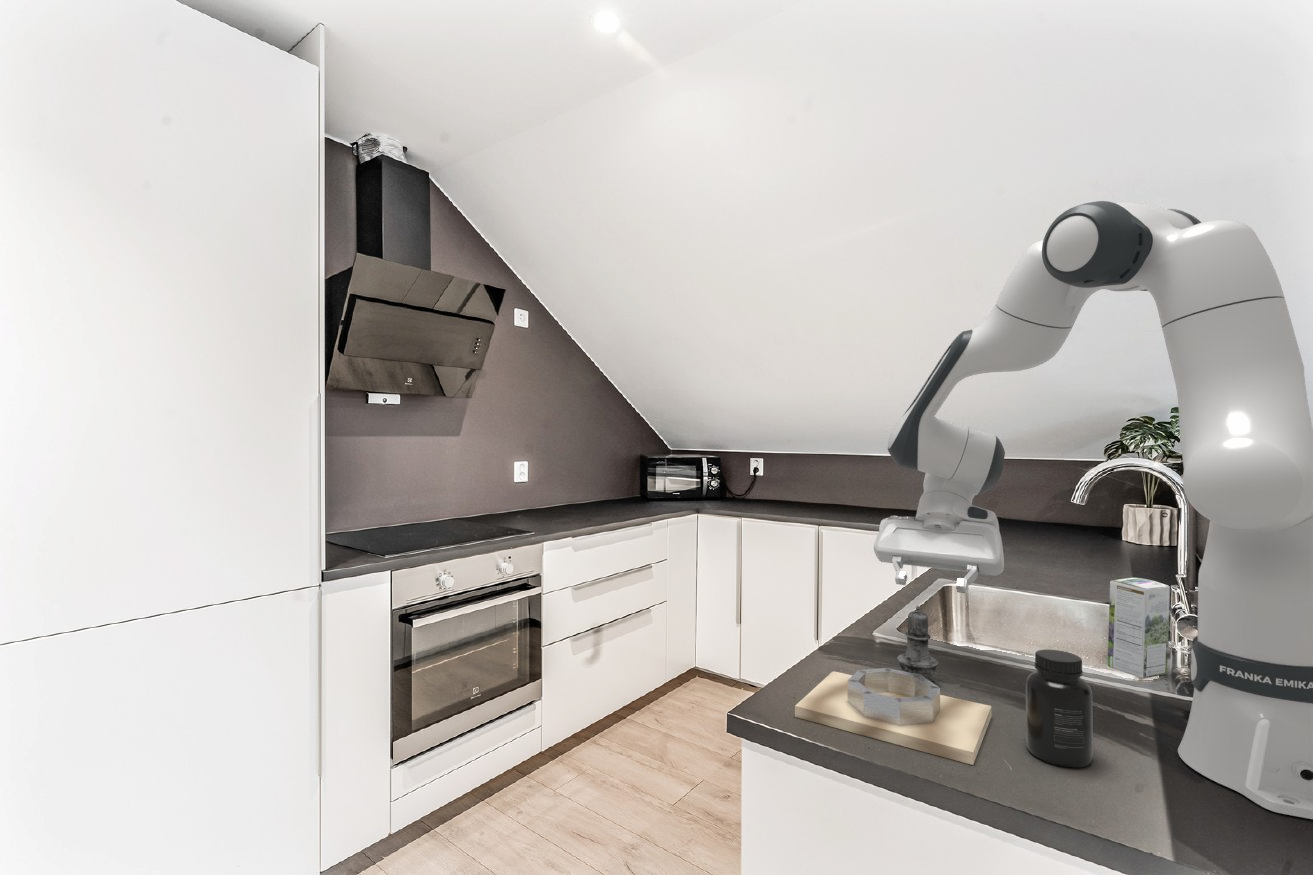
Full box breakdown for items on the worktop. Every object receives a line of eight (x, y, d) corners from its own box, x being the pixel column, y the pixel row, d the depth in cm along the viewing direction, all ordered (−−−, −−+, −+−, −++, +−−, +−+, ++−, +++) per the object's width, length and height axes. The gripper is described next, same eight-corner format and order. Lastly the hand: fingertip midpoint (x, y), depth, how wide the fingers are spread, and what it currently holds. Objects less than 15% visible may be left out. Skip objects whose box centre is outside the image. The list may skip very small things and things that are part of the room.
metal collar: (945, 701, 89) (945, 679, 89) (927, 733, 80) (927, 709, 80) (864, 683, 95) (864, 663, 95) (839, 710, 86) (839, 688, 86)
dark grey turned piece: (932, 694, 95) (933, 613, 95) (892, 684, 99) (892, 606, 98) (942, 681, 100) (943, 604, 99) (903, 672, 103) (904, 598, 103)
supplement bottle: (1098, 754, 78) (1099, 655, 77) (1084, 776, 73) (1085, 671, 73) (1034, 735, 82) (1035, 642, 82) (1017, 754, 78) (1018, 655, 77)
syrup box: (1130, 662, 108) (1131, 575, 107) (1169, 675, 102) (1170, 584, 102) (1106, 667, 106) (1107, 578, 105) (1145, 680, 100) (1146, 587, 100)
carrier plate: (991, 717, 88) (991, 706, 87) (973, 765, 75) (973, 752, 75) (832, 680, 100) (832, 671, 100) (794, 716, 88) (794, 705, 88)
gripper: (879, 504, 117) (862, 567, 110) (1006, 513, 106) (997, 584, 98) (885, 525, 121) (869, 588, 113) (1009, 536, 110) (1000, 607, 102)
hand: (930, 587), depth 106 cm, fingers open, 8 cm apart
